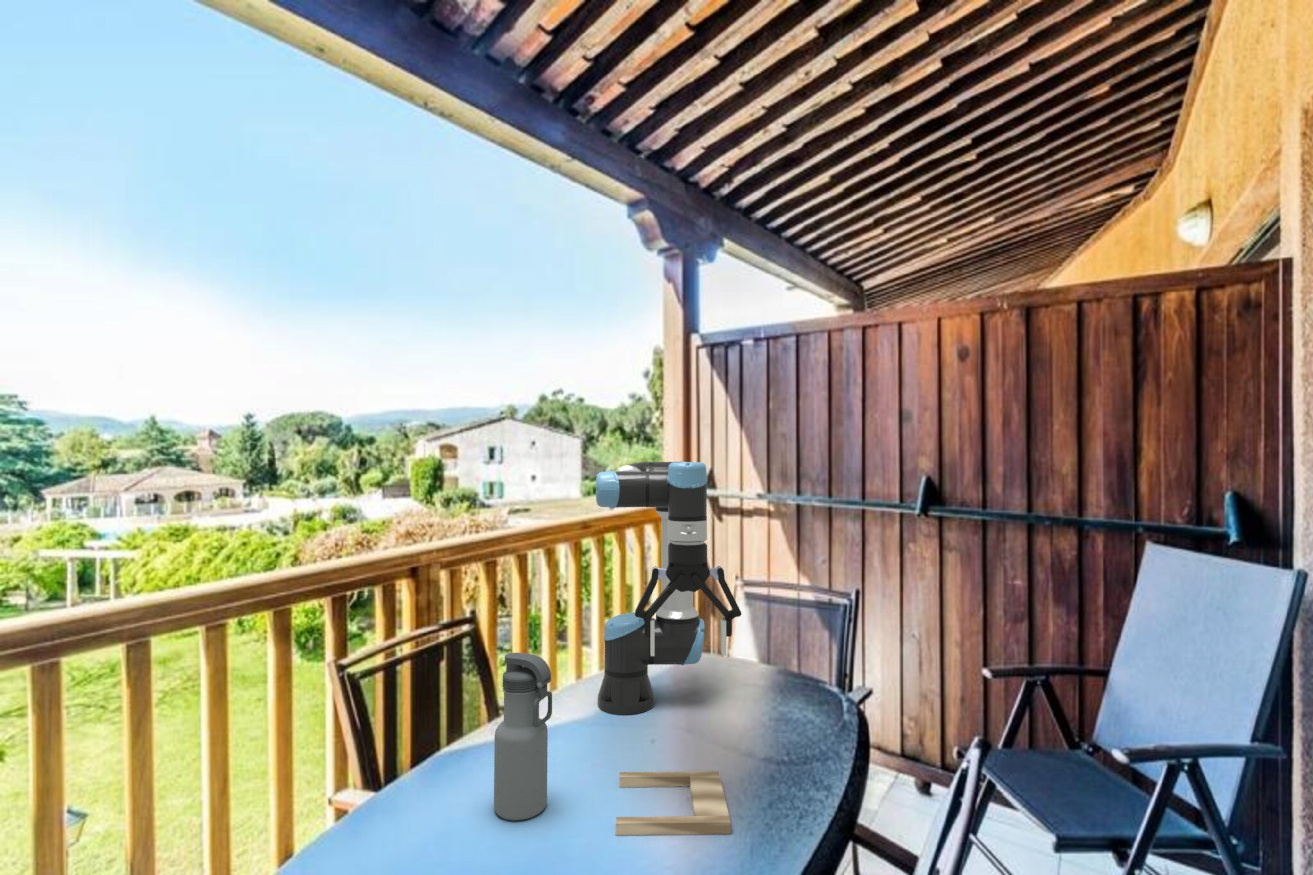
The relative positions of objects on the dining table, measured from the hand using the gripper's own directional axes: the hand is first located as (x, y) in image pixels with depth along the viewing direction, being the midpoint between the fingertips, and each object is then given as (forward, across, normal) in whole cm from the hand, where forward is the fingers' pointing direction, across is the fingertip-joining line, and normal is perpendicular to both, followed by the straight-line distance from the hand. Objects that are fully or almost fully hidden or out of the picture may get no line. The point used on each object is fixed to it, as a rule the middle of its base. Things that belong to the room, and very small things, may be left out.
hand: (688, 653), depth 120 cm
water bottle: (+28, -31, -1) cm, 42 cm away
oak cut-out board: (+28, -3, -1) cm, 28 cm away
